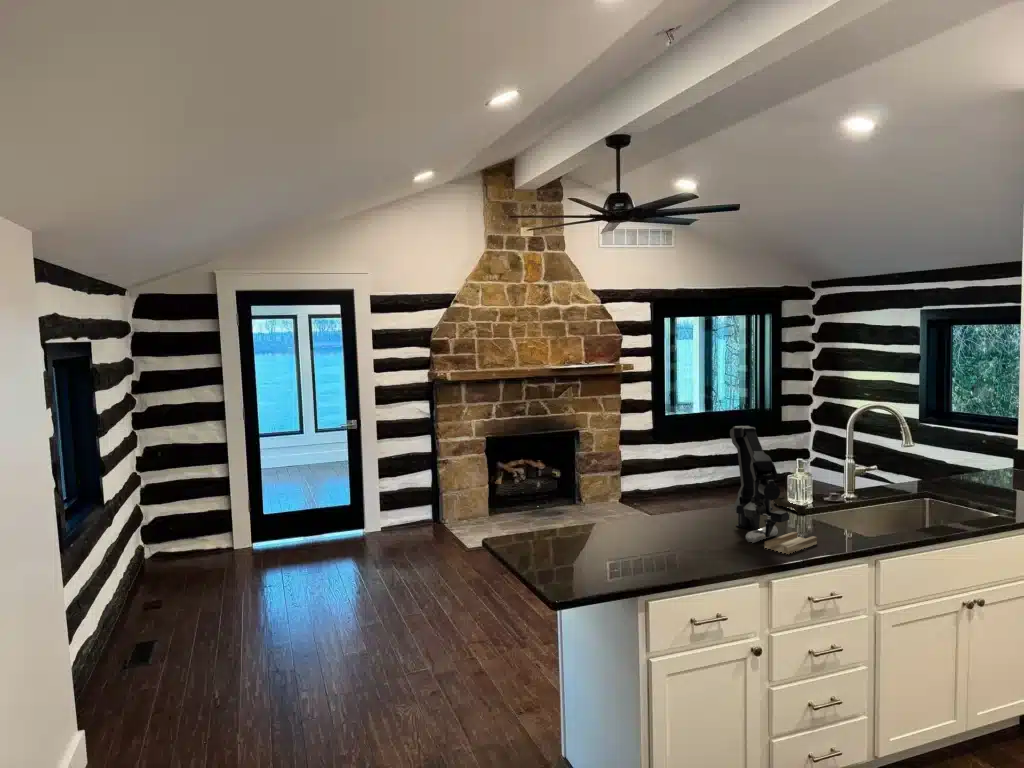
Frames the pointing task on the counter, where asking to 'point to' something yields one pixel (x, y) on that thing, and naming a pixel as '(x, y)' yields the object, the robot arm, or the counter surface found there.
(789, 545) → the cradle
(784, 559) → the counter surface
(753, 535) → the axle
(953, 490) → the counter surface
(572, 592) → the counter surface
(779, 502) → the hand tool
